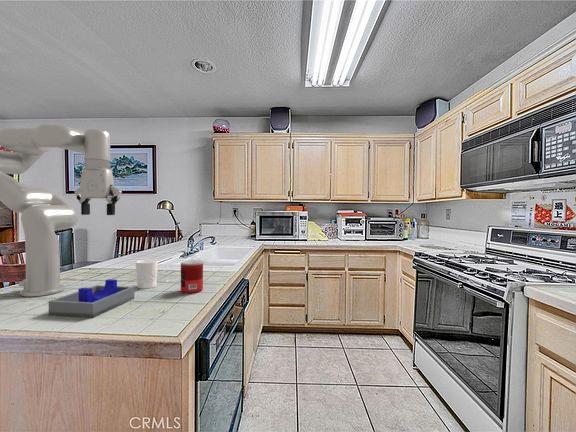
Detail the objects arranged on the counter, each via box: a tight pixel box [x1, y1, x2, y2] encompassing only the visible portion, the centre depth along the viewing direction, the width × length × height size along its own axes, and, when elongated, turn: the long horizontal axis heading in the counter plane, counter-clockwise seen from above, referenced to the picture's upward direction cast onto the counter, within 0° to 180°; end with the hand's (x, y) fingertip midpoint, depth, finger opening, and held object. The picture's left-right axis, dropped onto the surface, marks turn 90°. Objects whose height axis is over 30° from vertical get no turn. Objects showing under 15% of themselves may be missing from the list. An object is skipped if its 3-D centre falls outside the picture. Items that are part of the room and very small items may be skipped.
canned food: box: [180, 259, 204, 295], centre depth 111 cm, size 8×8×11 cm
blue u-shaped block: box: [77, 278, 118, 303], centre depth 93 cm, size 12×4×6 cm, turn 172°
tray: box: [48, 284, 135, 319], centre depth 93 cm, size 14×18×4 cm
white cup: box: [135, 259, 159, 290], centre depth 116 cm, size 8×8×10 cm
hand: (98, 214), depth 104 cm, fingers open, 9 cm apart
